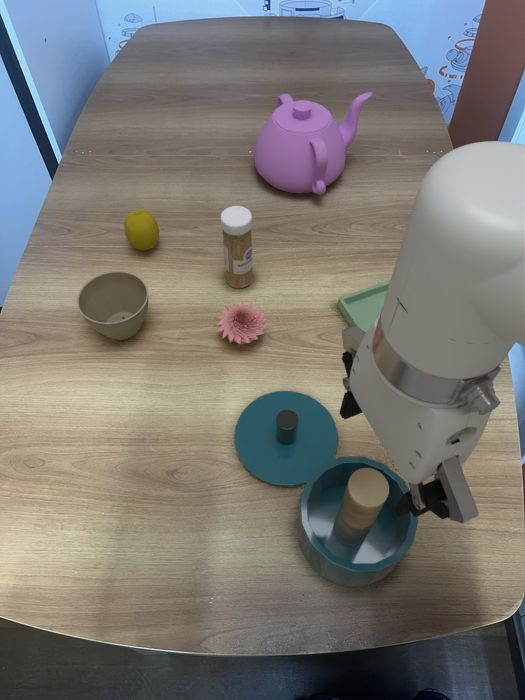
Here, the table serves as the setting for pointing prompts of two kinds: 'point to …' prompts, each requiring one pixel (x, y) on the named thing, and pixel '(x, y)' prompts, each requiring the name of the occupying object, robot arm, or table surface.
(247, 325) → the flower
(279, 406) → the pot lid
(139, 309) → the bowl
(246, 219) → the sprinkles bottle
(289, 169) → the teapot
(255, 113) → the table surface
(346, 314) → the tray
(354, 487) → the stick
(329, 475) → the pot
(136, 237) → the lemon
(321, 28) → the table surface
